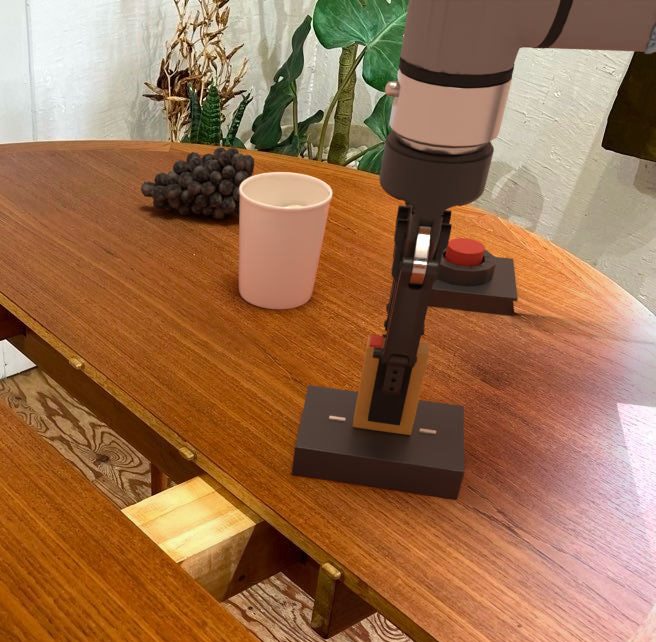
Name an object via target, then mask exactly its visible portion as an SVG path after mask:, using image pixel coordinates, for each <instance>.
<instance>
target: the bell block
mask: <svg viewBox="0 0 656 642" xmlns="http://www.w3.org/2000/svg"><path fill="white" fill-rule="evenodd" d="M446 250H447V248H446V249H445V250H444V251H443V254H442V259H441V263H440V268H439V273H438V278H437V280H436V281H435V282H434V284H433V288H432V291H431V295H430V300H429V304H428V307H432V308H438V309H440V308H441V309H449V310H455V311H457V310H458V311H465V312H474V313H481V314H490V315H498V316H507V317H513V316H514V314H515V313H514V312H515V306H514V305H515V304H514V302H517V301H518V299H519V298H518V289H517V282H516V272H515V271H516V270H515V262H514V258H510V257H500V256H495V255H494V254H492V253H491V252H490V251H488V250H487V249H485V251H484V255H483V259H482V263H481V264H480V265H478V266H461V265H456V264H453V263H450V262H448V261H447V260H446V259H445V255H446Z"/></svg>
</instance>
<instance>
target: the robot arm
mask: <svg viewBox="0 0 656 642" xmlns="http://www.w3.org/2000/svg"><path fill="white" fill-rule="evenodd" d="M523 48H524V49H525V48H526V49H527V48H529V49H530V48H532V49H542V50H543V49H557V50H558V49H559V50H584V51H586V50H587V51H588V50H589V51H610V52H611V51H614V52H638V53H639V52H642V53H643V52H644V55H651V54H653V53H656V0H408V4H407V11H406V18H405V24H404V30H403V37H402V42H401V50H400V55H399V56H400V57H399V63H398V71H397V75H396V76H397V81H388V82H387V83H386V84H385V88H384V93H385V95H386V96H388V97H391V98H392V97H393V98H394V99H393V100H392V104H391V110H390V116H389V127H390V128H391V130H392V131H391V132H390V133H388V134H387V136H386V138H385V141H384V145H383V146H384V148H383V152H382V153H383V154H382V159H381V165H380V171H379V177H378V179H379V185H380V187H381V188H382V190H383V191H384V192H385V193H386V194H387V195H389V196H390V197H391V198H394V199H395V200H397V201H403V202H404V205H398V206H397V212H396V218H395V225H394V226H395V227H394V229H395V230H394V237H393V242H394V246H393V253H392V265H391V277H392V284H391V289H390V293H389V299H388V303H386V305H385V306H386V307H385V310H386V319H385V320H384V323H383V327H384V332H386V333H382V334H381V336H383V338H385V343H384V347H383V348H376V347H374V350H373V357H372V358H378V359H379V362H378V367H377V373H376V378H375V383H374V388H373V394H372V399H371V404H370V409H369V415H368V421H371V422H378V423H385V424H392V425H399V426H400V422H401V418H402V413H403V409H404V404H405V399H406V395H407V390H408V386H409V381H410V376H411V372H412V367H414V366H415V363H416V362H417V356H416V355H417V351H418V347H419V343H420V342H421V338H422V336H423V337H424V335H425V329H426V327H425V326H426V325H425V321H426V317H427V313H428V308H429V306H428V304H429V300H430V295H431V291H432V288H433V284H434V282H435V281H436V280H437V278H438V273H439V268H440V263H441V259H442V254H443V251H444V250H445V249H446V248H447V246H448V243H449V241H450V238H451V232H452V226H453V224H452V223H451V218H452V213H453V211H452V210H449V209H450V208H453V207H462V206H467V205H469V204H472V203H473V202H476V201H477V200H478V199H480V198H481V196H483V193H484V191H485V188H486V184H487V181H488V176H489V172H490V168H491V164H492V159H493V156H494V152H495V148H494V146H493V144H492V142H491V141H494V140H495V139H496V138H498V135H499V134H500V130H501V126H502V122H503V117H504V113H505V110H506V106H507V101H508V97H509V94H510V93H509V92H510V88H511V85H512V81H513V73H514V69H515V62H516V60H517V56H518V54H519V51H520V49H523Z"/></svg>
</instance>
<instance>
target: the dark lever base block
mask: <svg viewBox="0 0 656 642" xmlns="http://www.w3.org/2000/svg"><path fill="white" fill-rule="evenodd" d="M357 396H358V391H357V390H349V389H342V388H335V387H334V388H333V387H326V386H319V385H313V384H308V385H307V389H306V393H305V398H304V405H303V408H302V412H301V417H300V418H301V419H300V422H299V426H298V427H299V428H298V431H297V436H296V441H295V446H294V452H293V453H294V454H293V462H292V468H291V475H294V476H299V477H305V478H314V479H318V480H319V479H321V480H327V481H333V482H339V483H344V484H345V483H346V484H352V485H353V484H354V485H358V486H365V487H372V488H379V489H386V490H391V491H398V492H405V493H412V494H416V495H417V494H418V495H425V496H431V497H438V498H444V499H450V500H458V497H459V493H460V491H461V487H462V483H463V480H464V475H465V469H466V468H465V467H466V465H465V407H464V405H461V404H453V403H452V404H451V403H444V402H438V401H430V400H422V399H419V402H418V406H417V411H416V415H415V419H414V424H413V428H412V432H411V435H405V434H397V433H390V432H383V431H376V430H369V429H362V428H355V427H353V420H354V413H355V407H356V402H357Z"/></svg>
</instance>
